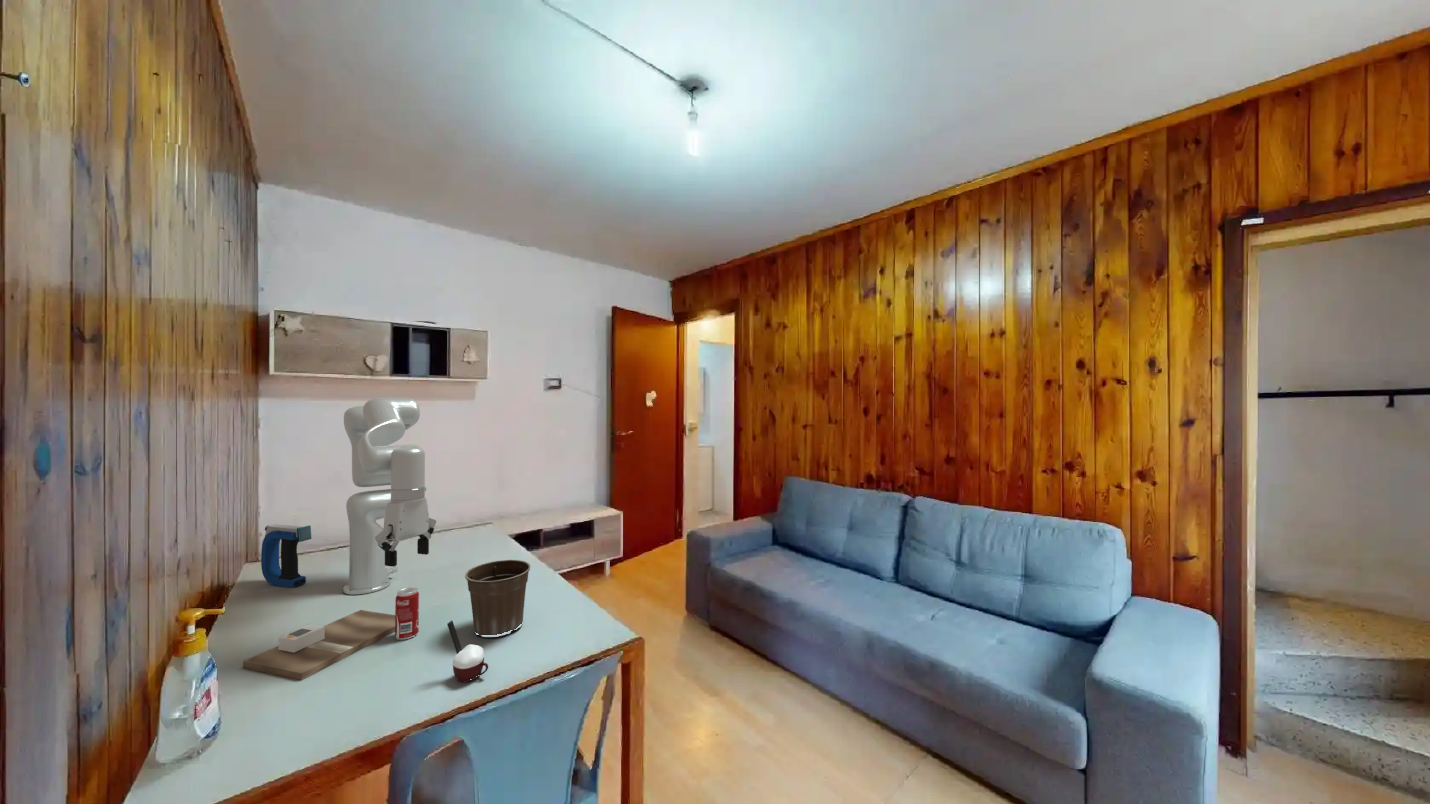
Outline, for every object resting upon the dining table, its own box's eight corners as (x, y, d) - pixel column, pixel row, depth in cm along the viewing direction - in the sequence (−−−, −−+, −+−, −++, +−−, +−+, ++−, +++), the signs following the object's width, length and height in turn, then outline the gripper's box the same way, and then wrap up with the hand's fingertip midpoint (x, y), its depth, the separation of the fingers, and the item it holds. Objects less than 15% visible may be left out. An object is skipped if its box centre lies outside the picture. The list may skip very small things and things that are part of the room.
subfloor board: (360, 615, 137) (360, 609, 137) (411, 623, 133) (411, 617, 133) (243, 667, 110) (243, 661, 110) (301, 680, 106) (301, 673, 106)
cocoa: (492, 677, 108) (496, 624, 108) (466, 691, 103) (470, 635, 103) (466, 664, 113) (470, 613, 113) (440, 676, 107) (444, 622, 107)
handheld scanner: (298, 589, 155) (299, 528, 155) (259, 584, 158) (260, 525, 158) (312, 584, 159) (314, 525, 160) (274, 579, 163) (275, 522, 163)
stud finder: (309, 635, 122) (309, 623, 122) (324, 638, 120) (324, 625, 120) (278, 649, 115) (278, 636, 115) (293, 652, 114) (294, 639, 114)
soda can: (402, 631, 128) (402, 586, 128) (422, 630, 128) (423, 586, 128) (390, 641, 123) (391, 594, 123) (411, 640, 123) (412, 594, 123)
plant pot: (464, 649, 119) (464, 585, 119) (464, 622, 134) (465, 564, 134) (533, 635, 127) (533, 574, 127) (526, 610, 141) (527, 556, 141)
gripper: (423, 488, 135) (423, 548, 135) (365, 500, 118) (364, 569, 118) (445, 489, 133) (445, 551, 133) (389, 502, 116) (388, 572, 116)
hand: (407, 559), depth 125 cm, fingers open, 9 cm apart
